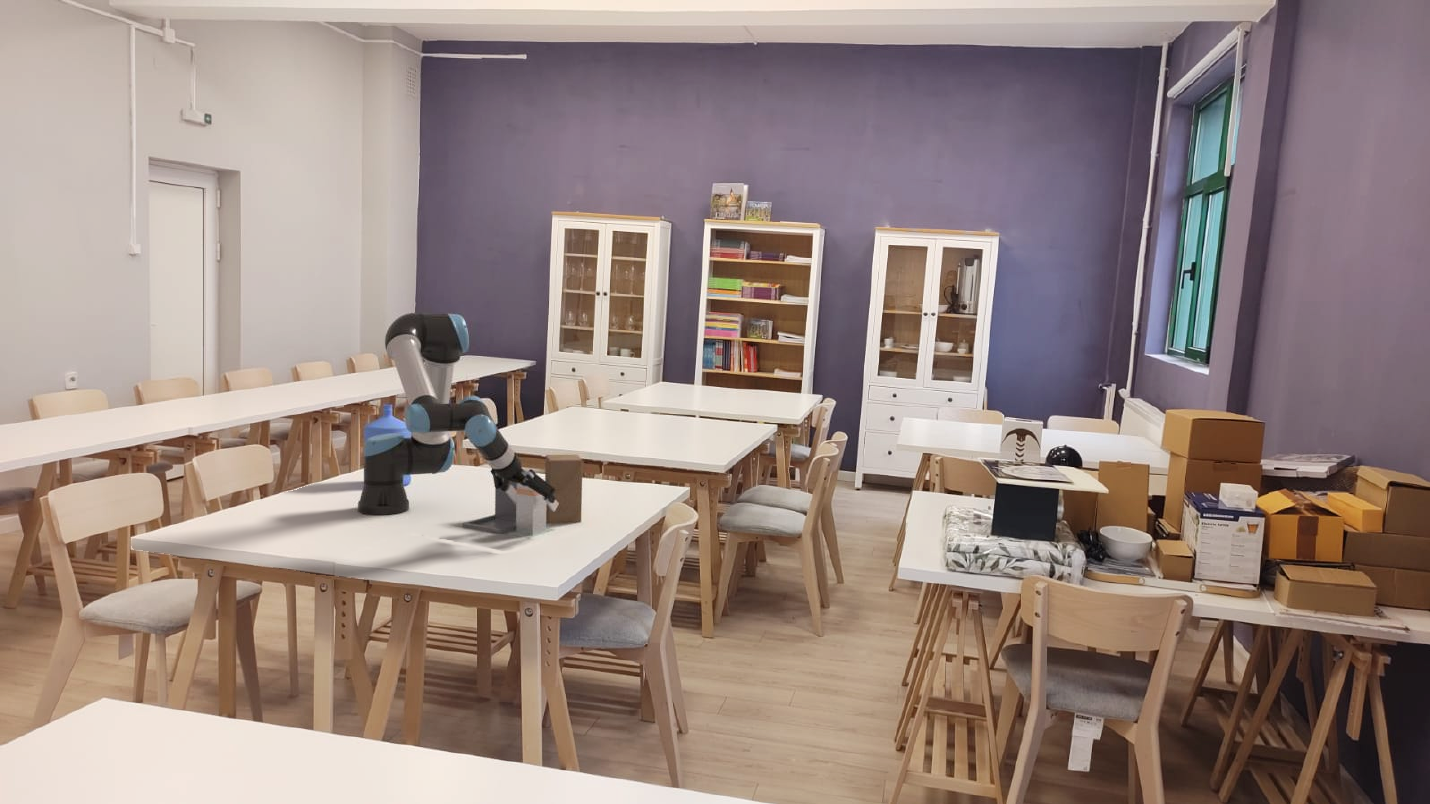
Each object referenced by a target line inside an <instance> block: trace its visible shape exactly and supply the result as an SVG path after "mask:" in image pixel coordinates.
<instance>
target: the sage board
mask: <svg viewBox="0 0 1430 804" xmlns="http://www.w3.org/2000/svg"><path fill="white" fill-rule="evenodd" d="M554 531H556V529H554V528H550V527H549V528H548V527H546V531H545V532H542V533H539V534H535V535H528V534H523V533H518V532H516V530H515V531H514V530H513V531H512V532H511V531H510V532H506V534H507V535H509V536H510V535H511V536H516V537H521V538H527V539H530V538H534V537H538V536H540V535H543V534H546V533H550V532H554Z"/></svg>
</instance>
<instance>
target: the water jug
mask: <svg viewBox="0 0 1430 804" xmlns="http://www.w3.org/2000/svg"><path fill="white" fill-rule="evenodd" d="M363 428H364V429H363V439H364V441H363V443H365V441H366V440H367V439H368V438H371V437H373V436H377V435H382V434H390V433H391V434H393V433H399V434H402V435H403V437H404V438H411V434H412V432H410V431H408V430H407V428H406V422H405V421H403V420H401V419H398V418H396V417H395V416H393V404H388V403H387V404H385V403H384V404H382V415H381V417H379V418H377V419H375V420H373V421H371V422H368V423H366V424H365V425H364V427H363ZM411 481H412V475H403V486H404V487H405V486H408V485H409V484H411Z"/></svg>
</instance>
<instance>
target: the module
mask: <svg viewBox="0 0 1430 804" xmlns="http://www.w3.org/2000/svg"><path fill="white" fill-rule="evenodd" d="M516 494H517V498H516V529H515V531H516V532H518V533H523V534H528V535H535V534H539V533H542V532H545V531H546V528H547V520H546V502H545V500H544V499H543V496H542V495H540V494H539V493H537V492H536V491H534V490H532V489H531V488H529V487H528V486H523V485H521V484H520V483H518V484H517V488H516Z"/></svg>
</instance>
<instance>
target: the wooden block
mask: <svg viewBox="0 0 1430 804" xmlns="http://www.w3.org/2000/svg"><path fill="white" fill-rule="evenodd" d="M544 465H545V468H544V470H545V471H544V474H545V475H544V479H545V480H544V481H546V482H547V483H548V484H549V485H551V486H552V487H553V488H554V489H555V492H554V494H553V496H554V497H555V499H556V500H557V502H558V503H559V505H558V506H557V508H556V510H555V512H554V511H552V510H551V508H550V507H549V506H548V504H547V503H546V524H570V523H571V524H573V523H574V524H575V523H577V524H578V523H582V510H583V509H582V506H583V505H582V502H583V501H582V498H583V459H582V458H581V457H580V456H579V455H578V454H546V455H545V464H544Z"/></svg>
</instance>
